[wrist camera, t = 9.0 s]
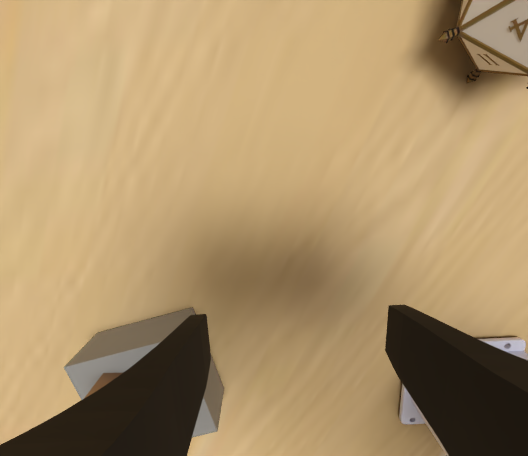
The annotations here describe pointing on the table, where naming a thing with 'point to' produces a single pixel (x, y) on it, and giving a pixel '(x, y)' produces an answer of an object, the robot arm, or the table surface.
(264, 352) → the table surface
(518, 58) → the game die
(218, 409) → the grey square block
